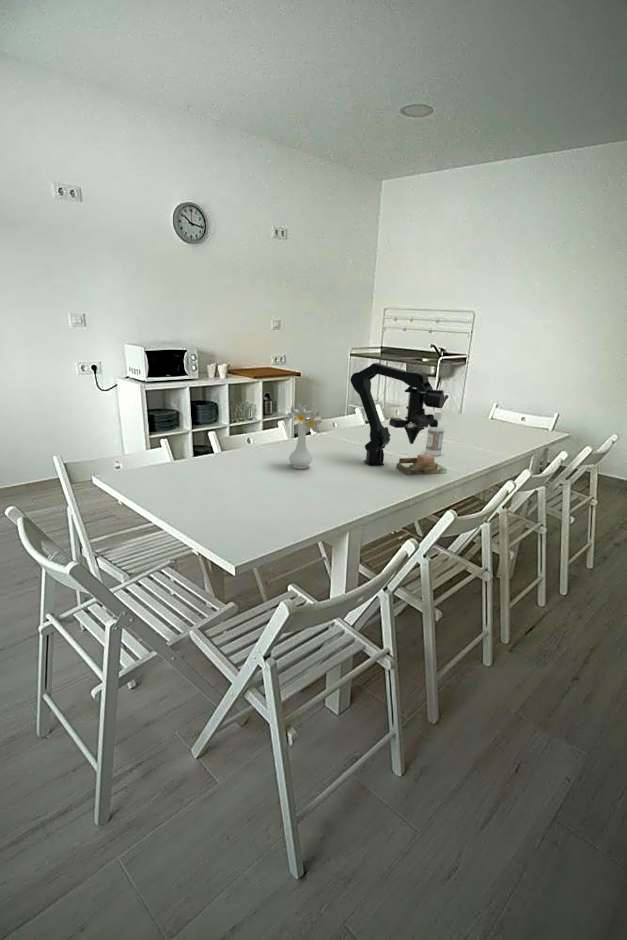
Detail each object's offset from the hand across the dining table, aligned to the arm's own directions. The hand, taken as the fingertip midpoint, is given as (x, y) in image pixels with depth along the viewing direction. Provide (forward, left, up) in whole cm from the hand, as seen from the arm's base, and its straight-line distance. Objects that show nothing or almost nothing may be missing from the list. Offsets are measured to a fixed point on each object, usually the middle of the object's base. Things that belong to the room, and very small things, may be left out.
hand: (411, 443), depth 193 cm
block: (+7, 0, -9) cm, 12 cm away
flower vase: (-42, +11, -12) cm, 45 cm away
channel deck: (+6, 0, -11) cm, 13 cm away
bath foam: (+24, +22, -12) cm, 35 cm away
